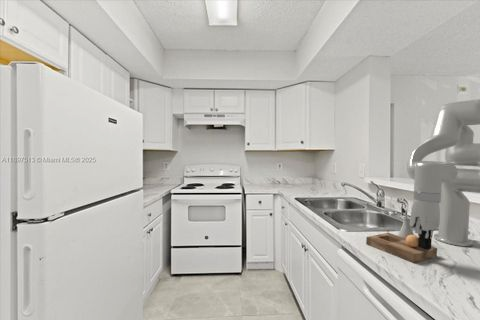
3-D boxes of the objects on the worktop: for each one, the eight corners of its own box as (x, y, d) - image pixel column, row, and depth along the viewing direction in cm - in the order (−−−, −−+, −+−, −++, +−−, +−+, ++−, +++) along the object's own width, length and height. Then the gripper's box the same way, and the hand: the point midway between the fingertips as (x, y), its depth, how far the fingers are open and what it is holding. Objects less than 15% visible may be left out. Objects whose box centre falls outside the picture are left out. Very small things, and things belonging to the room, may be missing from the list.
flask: (397, 236, 106) (398, 214, 106) (417, 240, 102) (418, 217, 101) (395, 241, 101) (396, 218, 100) (416, 245, 96) (417, 221, 96)
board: (388, 239, 102) (388, 232, 102) (436, 256, 86) (437, 248, 86) (366, 244, 97) (366, 236, 96) (413, 263, 80) (414, 254, 80)
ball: (410, 244, 90) (409, 232, 90) (423, 247, 86) (422, 235, 86) (403, 246, 88) (402, 234, 88) (416, 249, 84) (415, 237, 84)
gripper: (426, 194, 89) (424, 241, 90) (402, 196, 83) (400, 247, 84) (451, 197, 83) (448, 249, 83) (427, 200, 76) (424, 256, 77)
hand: (424, 248), depth 83 cm, fingers closed
